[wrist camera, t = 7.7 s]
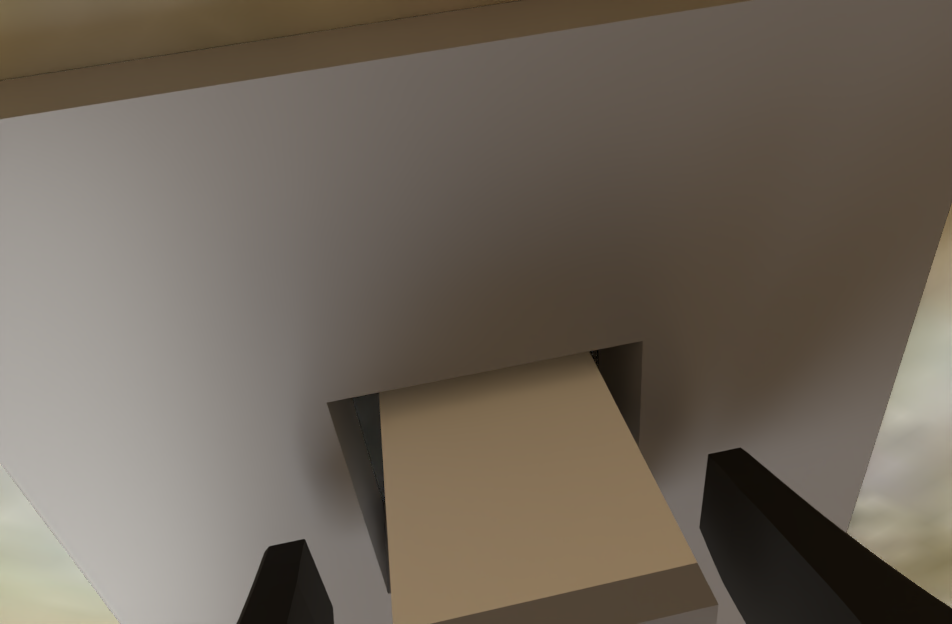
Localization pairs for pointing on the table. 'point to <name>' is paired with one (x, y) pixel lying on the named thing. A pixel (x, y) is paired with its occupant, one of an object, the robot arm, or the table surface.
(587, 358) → the plug
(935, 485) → the table surface
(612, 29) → the socket block
